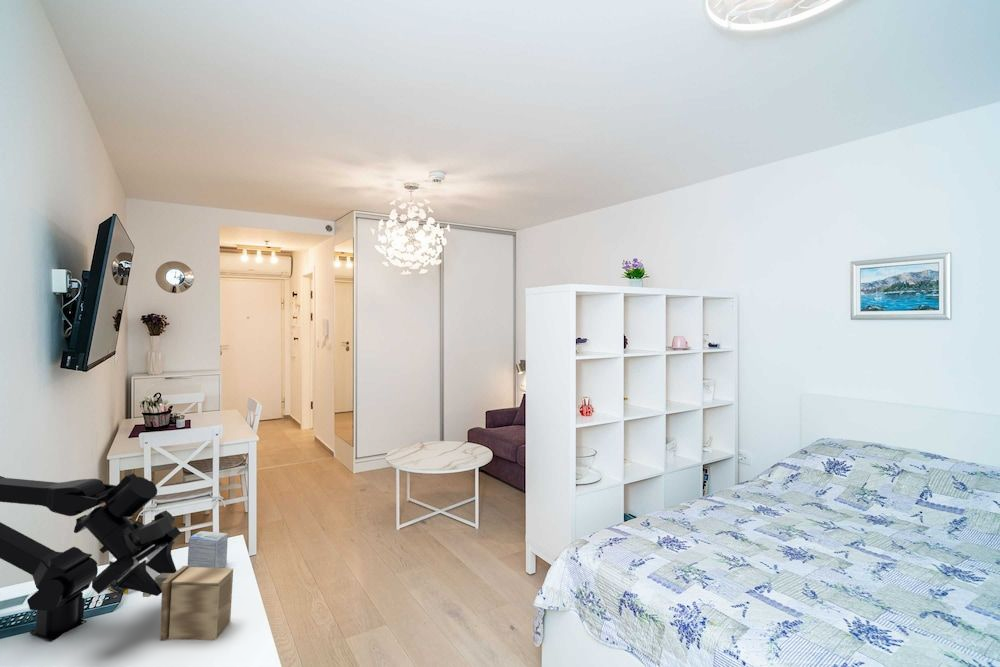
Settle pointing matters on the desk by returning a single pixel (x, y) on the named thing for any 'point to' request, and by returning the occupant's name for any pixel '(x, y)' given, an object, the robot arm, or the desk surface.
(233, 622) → the desk surface
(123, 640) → the desk surface
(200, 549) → the medicine box
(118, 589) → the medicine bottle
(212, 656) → the desk surface
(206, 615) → the carton
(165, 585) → the flap
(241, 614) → the desk surface
